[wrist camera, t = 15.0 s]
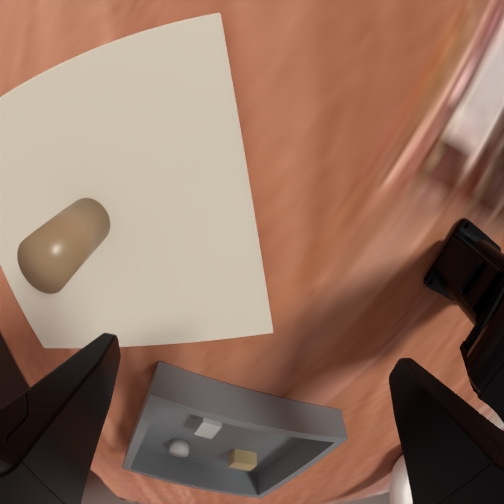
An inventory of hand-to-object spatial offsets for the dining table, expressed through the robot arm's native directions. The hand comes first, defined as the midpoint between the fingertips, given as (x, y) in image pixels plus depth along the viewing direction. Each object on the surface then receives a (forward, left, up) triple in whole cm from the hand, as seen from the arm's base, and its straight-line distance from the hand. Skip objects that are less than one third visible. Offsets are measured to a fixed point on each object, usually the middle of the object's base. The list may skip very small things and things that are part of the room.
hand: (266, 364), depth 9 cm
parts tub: (-8, +26, -13) cm, 30 cm away
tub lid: (+10, +4, -13) cm, 17 cm away
